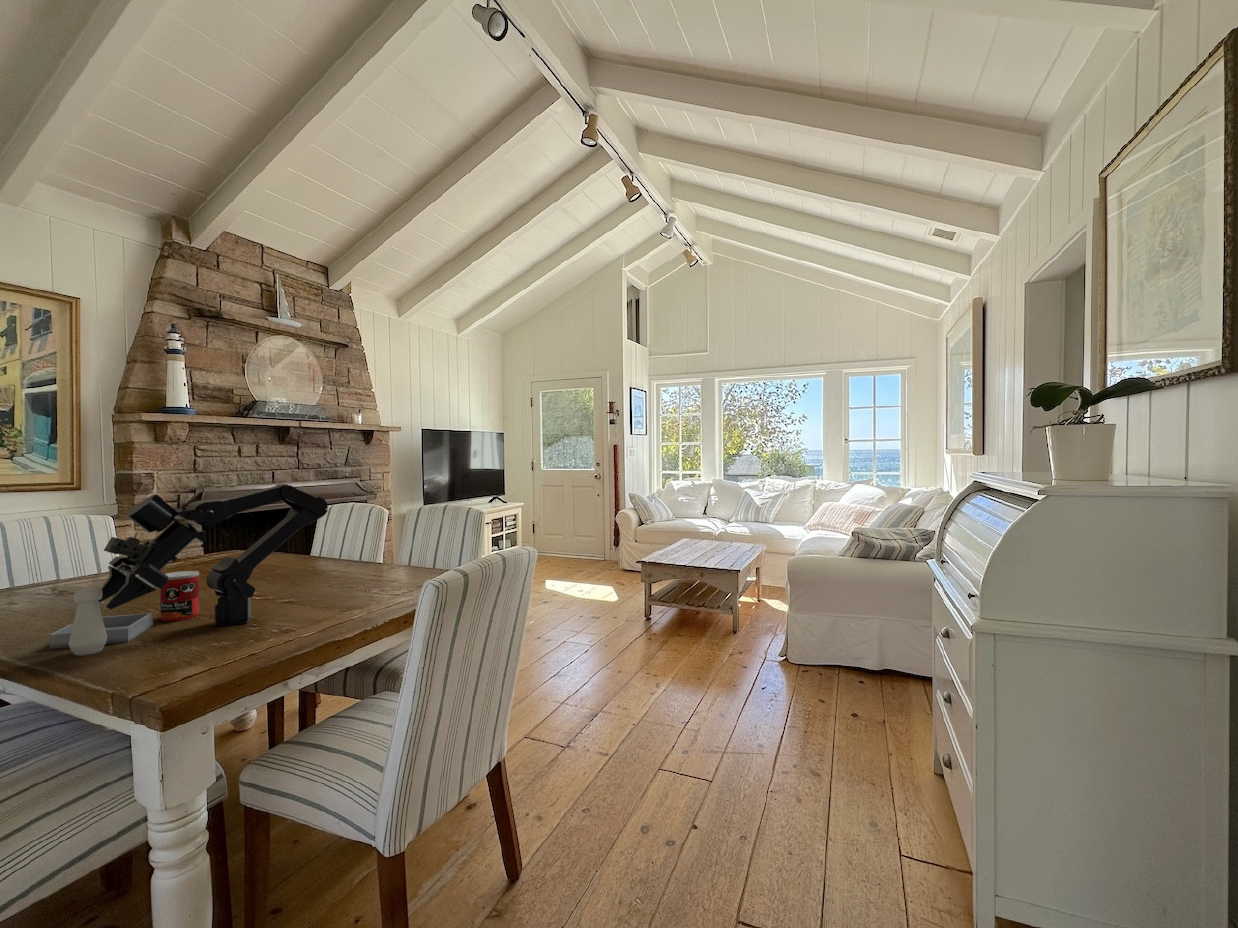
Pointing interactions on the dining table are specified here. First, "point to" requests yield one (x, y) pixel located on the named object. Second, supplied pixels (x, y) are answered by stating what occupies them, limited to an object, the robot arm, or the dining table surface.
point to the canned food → (180, 596)
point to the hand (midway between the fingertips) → (101, 604)
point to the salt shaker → (88, 623)
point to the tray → (109, 629)
